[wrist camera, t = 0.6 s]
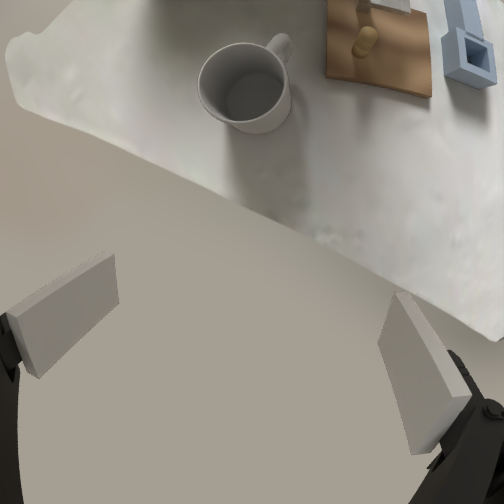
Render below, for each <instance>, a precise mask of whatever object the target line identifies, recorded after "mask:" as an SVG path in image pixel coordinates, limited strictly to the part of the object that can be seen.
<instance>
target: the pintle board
mask: <svg viewBox="0 0 504 504" xmlns="http://www.w3.org/2000/svg"><path fill="white" fill-rule="evenodd" d="M410 9H411V8H410ZM326 78H332V79H339V80H346V81H352V82H358V83H363V84H369V85H374V86H379V87H383V88H388V89H392V90H397V91H401V92H405V93H409V94H413V95H416V96H420V97H424V98H430V97H432V78H431V57H430V44H429V34H428V25H427V17H426V13H423V12H420V11H417V10H414V9H411V14H410V15H409V16H408V17H406V16H402V15H399V14H395V13H391V12H387V11H383V10H379V9H374V8H371V10H370V12H369V13H365V12H360V11H355V0H327V49H326Z"/></svg>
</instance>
